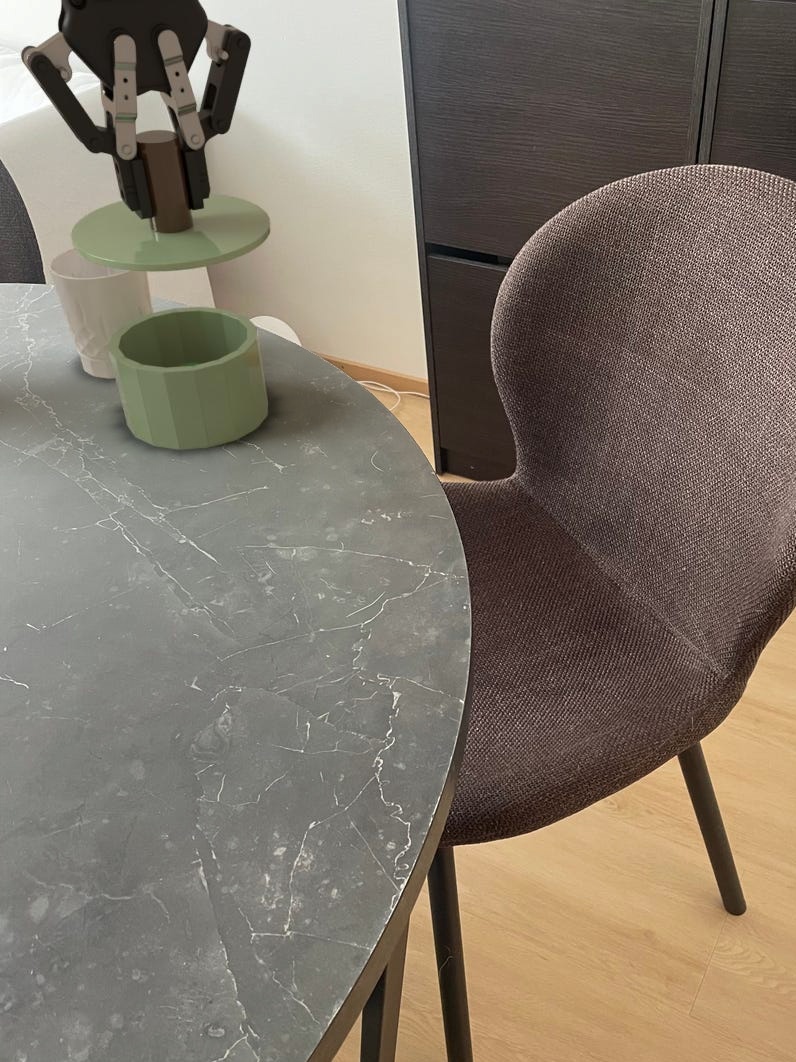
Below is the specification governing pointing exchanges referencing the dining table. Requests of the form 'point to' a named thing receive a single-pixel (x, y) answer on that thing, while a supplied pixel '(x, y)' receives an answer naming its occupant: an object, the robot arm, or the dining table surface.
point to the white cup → (97, 305)
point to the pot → (190, 377)
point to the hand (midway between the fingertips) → (168, 209)
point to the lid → (169, 220)
